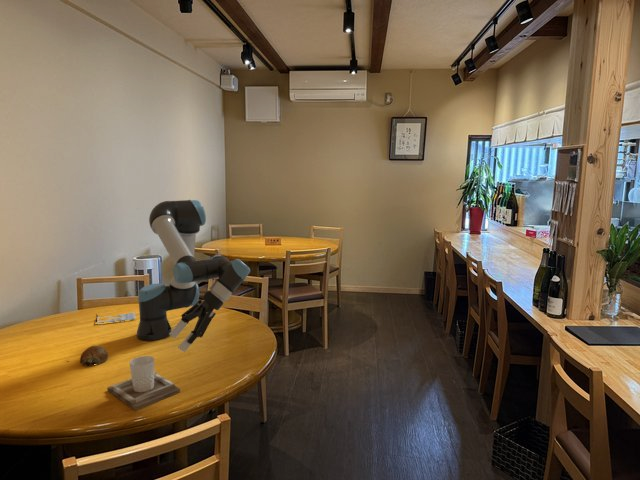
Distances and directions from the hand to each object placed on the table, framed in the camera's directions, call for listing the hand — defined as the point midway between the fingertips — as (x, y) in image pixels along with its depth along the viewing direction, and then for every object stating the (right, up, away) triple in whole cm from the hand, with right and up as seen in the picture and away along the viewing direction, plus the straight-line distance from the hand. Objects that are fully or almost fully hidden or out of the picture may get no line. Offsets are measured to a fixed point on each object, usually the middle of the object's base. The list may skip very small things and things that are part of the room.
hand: (176, 342), depth 157 cm
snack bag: (-56, -5, +75) cm, 93 cm away
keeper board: (-10, -16, -3) cm, 19 cm away
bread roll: (-40, -13, +21) cm, 47 cm away
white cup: (-10, -15, -3) cm, 19 cm away
